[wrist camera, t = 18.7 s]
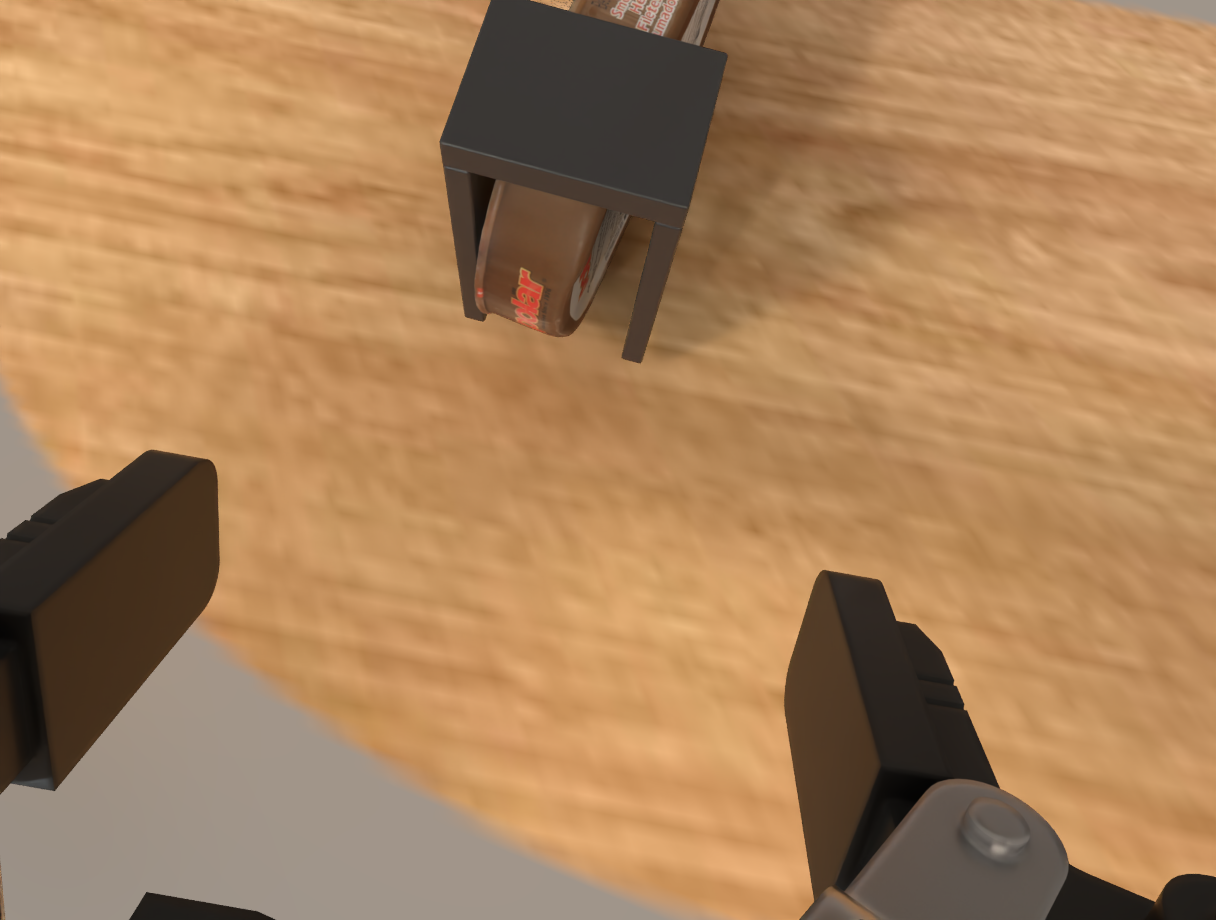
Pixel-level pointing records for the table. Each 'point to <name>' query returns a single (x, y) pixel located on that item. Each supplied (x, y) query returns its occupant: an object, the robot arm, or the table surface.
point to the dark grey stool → (580, 131)
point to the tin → (566, 208)
